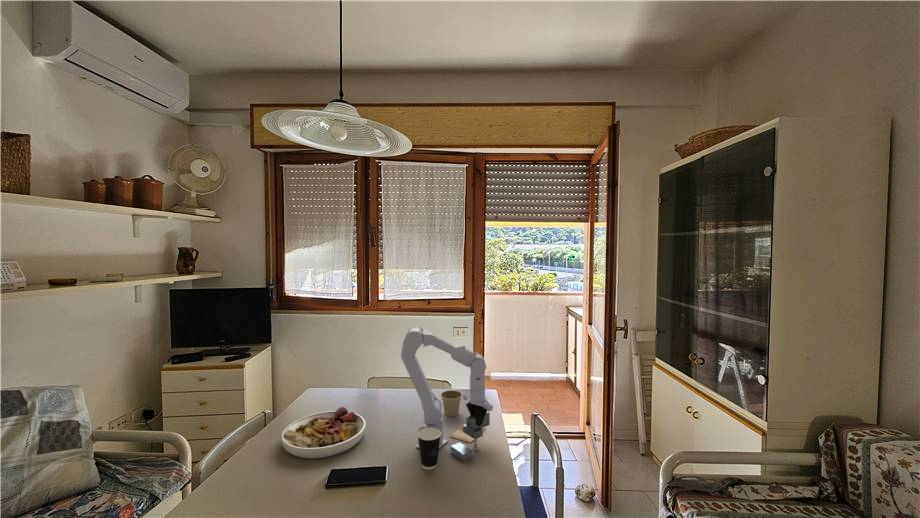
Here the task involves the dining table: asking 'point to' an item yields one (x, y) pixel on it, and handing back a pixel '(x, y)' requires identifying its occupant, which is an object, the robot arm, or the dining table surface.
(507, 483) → the dining table surface
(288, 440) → the bowl
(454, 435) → the plate
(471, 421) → the uneven u-shaped block
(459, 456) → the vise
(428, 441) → the dixie cup
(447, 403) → the flower pot
